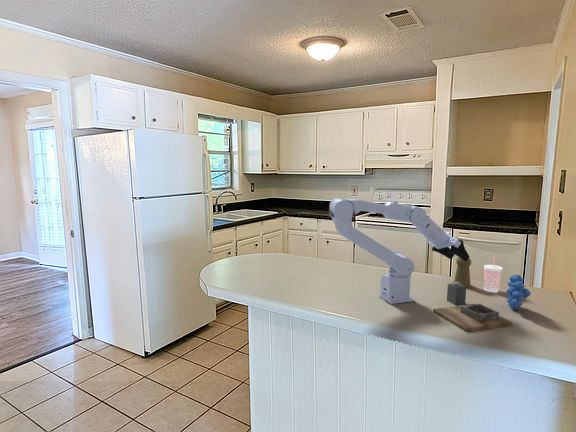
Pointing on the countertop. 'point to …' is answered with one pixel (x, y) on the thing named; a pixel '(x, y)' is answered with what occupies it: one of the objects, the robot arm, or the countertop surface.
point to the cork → (463, 272)
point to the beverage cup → (492, 277)
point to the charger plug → (456, 293)
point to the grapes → (516, 292)
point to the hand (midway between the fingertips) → (459, 257)
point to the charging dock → (472, 317)
